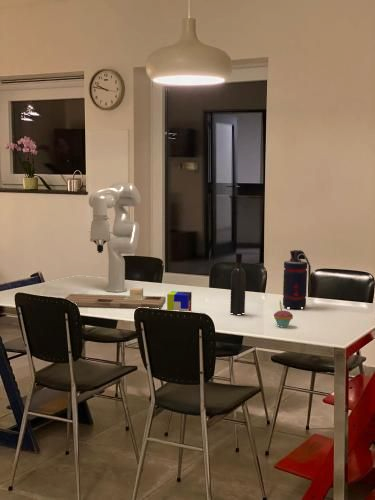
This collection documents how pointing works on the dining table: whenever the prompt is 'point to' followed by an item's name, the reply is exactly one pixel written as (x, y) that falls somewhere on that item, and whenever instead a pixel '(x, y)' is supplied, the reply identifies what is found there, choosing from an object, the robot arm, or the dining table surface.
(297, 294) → the grenade
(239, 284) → the wine bottle
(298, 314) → the dining table surface
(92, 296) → the trap deck
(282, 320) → the cupcake
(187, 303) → the puzzle toy
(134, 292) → the maple block
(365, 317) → the dining table surface
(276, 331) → the dining table surface
